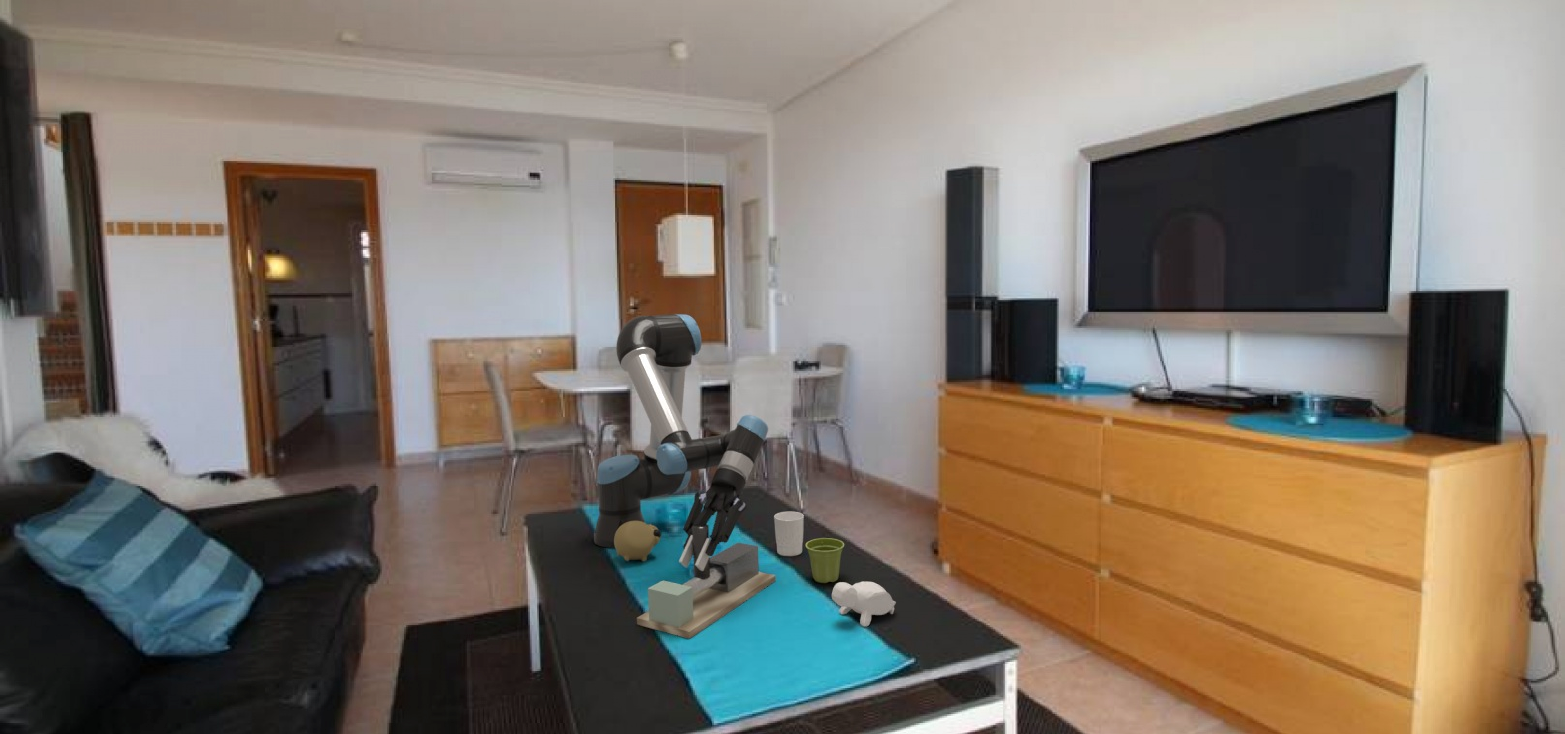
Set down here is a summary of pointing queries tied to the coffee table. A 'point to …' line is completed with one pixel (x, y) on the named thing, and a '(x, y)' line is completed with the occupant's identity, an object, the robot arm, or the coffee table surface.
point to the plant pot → (825, 558)
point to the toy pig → (636, 540)
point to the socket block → (670, 603)
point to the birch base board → (711, 606)
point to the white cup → (789, 533)
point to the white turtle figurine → (863, 600)
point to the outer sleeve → (736, 565)
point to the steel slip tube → (708, 575)
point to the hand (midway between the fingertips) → (691, 565)
